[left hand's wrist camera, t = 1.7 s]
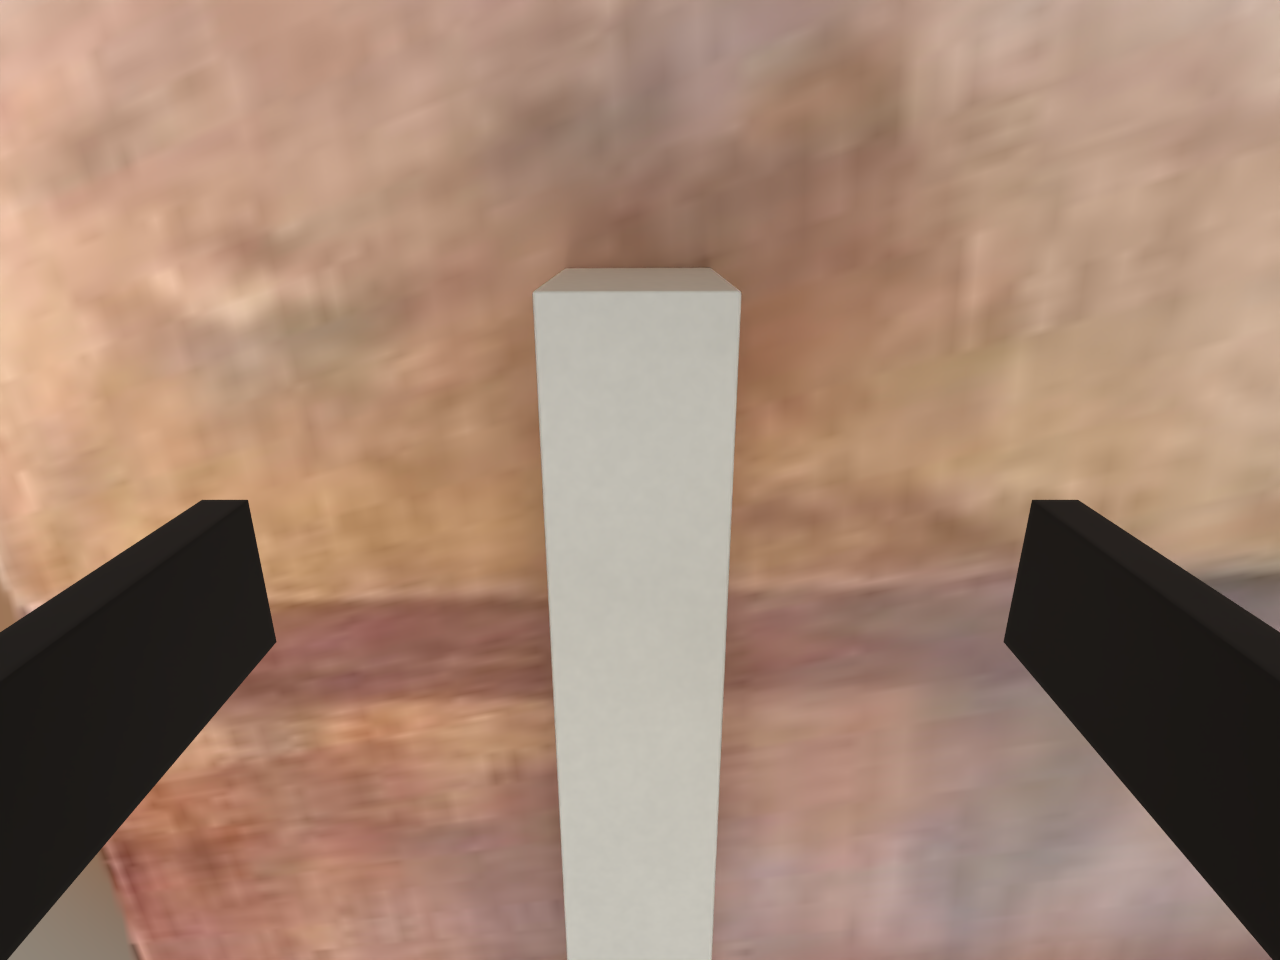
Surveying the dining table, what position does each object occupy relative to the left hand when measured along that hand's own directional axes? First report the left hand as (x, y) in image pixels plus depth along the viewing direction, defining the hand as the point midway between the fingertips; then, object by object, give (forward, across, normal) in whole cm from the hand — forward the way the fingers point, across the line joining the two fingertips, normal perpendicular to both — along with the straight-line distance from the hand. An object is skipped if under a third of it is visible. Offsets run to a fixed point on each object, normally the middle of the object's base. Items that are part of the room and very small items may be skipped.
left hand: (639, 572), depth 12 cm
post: (+14, 0, -34) cm, 37 cm away
